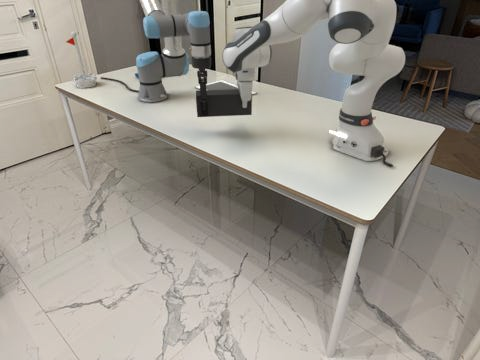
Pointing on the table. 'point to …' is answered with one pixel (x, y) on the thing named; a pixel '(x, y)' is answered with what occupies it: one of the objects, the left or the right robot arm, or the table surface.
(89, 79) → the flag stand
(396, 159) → the table surface
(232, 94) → the box
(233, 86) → the tablet
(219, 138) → the table surface
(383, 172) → the table surface
